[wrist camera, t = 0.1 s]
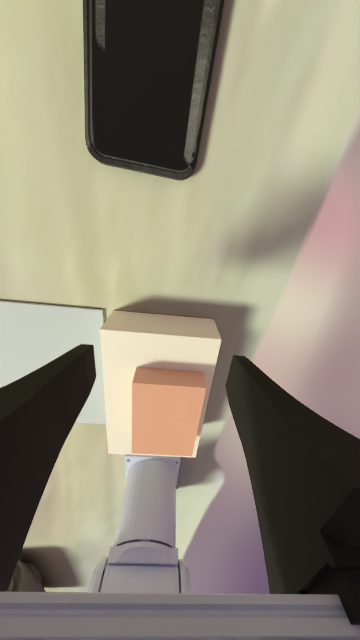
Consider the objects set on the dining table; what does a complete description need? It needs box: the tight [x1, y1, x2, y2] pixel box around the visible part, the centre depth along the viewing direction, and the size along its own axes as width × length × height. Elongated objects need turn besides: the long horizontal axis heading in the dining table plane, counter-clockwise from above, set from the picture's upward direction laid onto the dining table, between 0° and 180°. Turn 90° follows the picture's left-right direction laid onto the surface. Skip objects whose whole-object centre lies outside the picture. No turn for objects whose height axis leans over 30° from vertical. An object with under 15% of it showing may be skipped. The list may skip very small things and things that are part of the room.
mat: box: [0, 300, 106, 424], centre depth 23 cm, size 16×15×1 cm
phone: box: [83, 0, 224, 180], centre depth 12 cm, size 8×1×15 cm
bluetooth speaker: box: [6, 561, 45, 592], centre depth 43 cm, size 23×9×10 cm, turn 177°
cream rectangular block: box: [100, 310, 221, 458], centre depth 22 cm, size 16×10×4 cm, turn 174°
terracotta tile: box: [132, 367, 206, 456], centre depth 19 cm, size 9×6×2 cm, turn 174°
